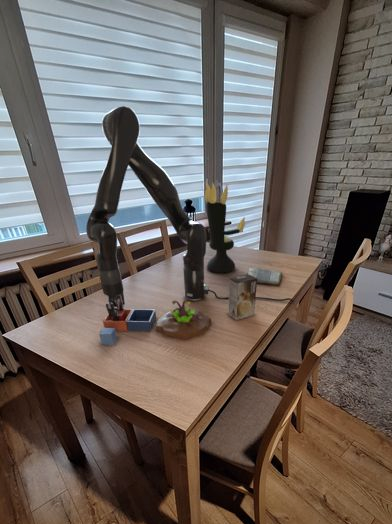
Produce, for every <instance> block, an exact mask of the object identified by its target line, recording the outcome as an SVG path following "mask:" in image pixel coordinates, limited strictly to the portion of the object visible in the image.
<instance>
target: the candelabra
mask: <svg viewBox="0 0 392 524" xmlns="http://www.w3.org/2000/svg"><path fill="white" fill-rule="evenodd" d="M214 183H215V182H212V185H211V187H210V185H209V183H208V182H206V185H205V186H206V188H205V191H204V200H205V212H206V217H207V218H206V219H207V224H208V229H207V232H208V234H209V237H210V241H209V244H208V245H209V247H210V249H212V250H214V251H216V253H215V255H214V256H213V257H212V258H211V259H210V260H208V262H207V264H206V268H207V270H208V271H210V272H212V273H221V274H222V273H223V274H224V273H225V274H226V273H229V272H232V271H234V270H235V268H236V263H235V262H234V260H233V259H232V258H231V257H230V256H229V255H228V254H227V251H229V250H232V249H233V248H234V246H235V242H234V241H233V239H232V238H230V236H232V235H236V234H240V233H244V228H245V227H246V226H245V225H246V218H245V216H243V218H241V220H240V221H239V222H238V224H237V227H236V228H234V229H230V230H225V229H226V218H227V217H226V216H227V204H226V203H227V199H228V193H229V190H228V184H226V185H225V187H224V189H223V191H222V193H221V196H220V199H219V201H220V202H217V189H216V186H215V184H214Z"/></svg>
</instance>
